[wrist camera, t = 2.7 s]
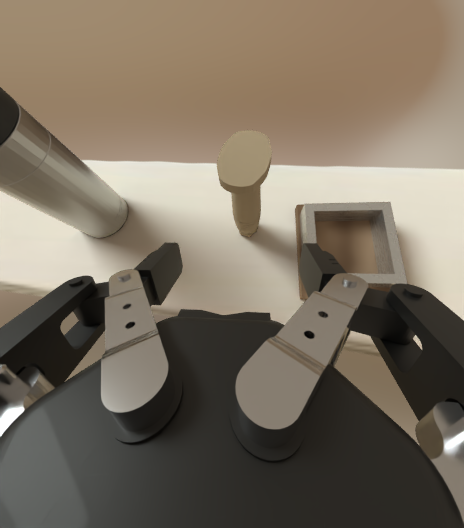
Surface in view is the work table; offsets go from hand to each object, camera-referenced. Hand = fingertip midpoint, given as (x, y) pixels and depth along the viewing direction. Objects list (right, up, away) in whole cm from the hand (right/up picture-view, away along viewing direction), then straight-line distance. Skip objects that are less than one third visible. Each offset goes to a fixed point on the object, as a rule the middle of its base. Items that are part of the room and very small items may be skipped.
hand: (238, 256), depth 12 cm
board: (+16, +1, +17) cm, 23 cm away
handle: (+2, +5, +20) cm, 21 cm away
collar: (+16, +2, +16) cm, 22 cm away
